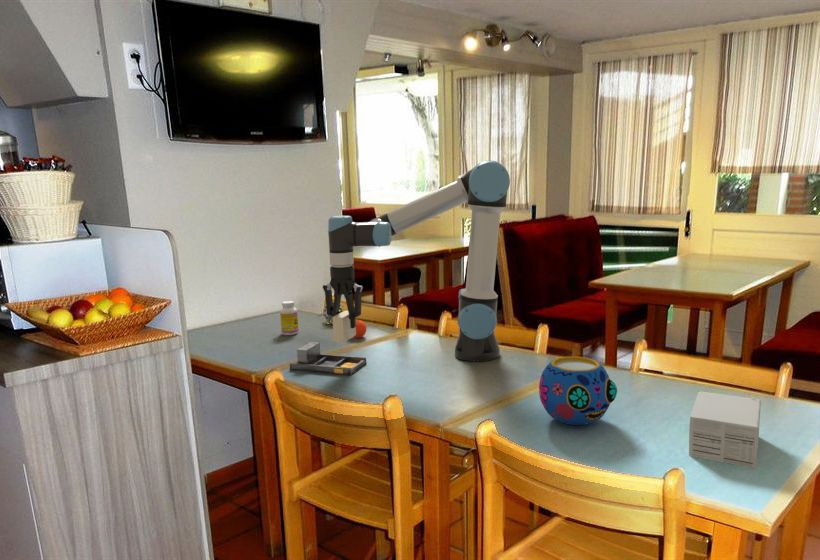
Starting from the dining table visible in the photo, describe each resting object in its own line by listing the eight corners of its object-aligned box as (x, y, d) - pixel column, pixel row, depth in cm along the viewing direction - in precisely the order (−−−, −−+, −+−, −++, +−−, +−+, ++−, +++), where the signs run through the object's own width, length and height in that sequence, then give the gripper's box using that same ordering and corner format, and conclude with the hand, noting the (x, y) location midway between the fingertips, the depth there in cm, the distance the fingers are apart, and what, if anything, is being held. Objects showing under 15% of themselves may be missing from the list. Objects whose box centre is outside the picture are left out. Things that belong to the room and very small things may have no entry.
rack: (366, 363, 206) (365, 344, 205) (350, 375, 195) (348, 355, 194) (308, 358, 214) (307, 340, 213) (289, 370, 203) (288, 350, 202)
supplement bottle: (296, 335, 245) (294, 303, 243) (280, 336, 245) (277, 304, 243) (300, 331, 251) (297, 300, 249) (283, 331, 252) (281, 300, 249)
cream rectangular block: (356, 334, 204) (355, 311, 203) (343, 342, 196) (342, 317, 194) (346, 334, 205) (345, 310, 204) (333, 341, 197) (332, 316, 196)
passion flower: (329, 336, 262) (315, 312, 264) (350, 327, 269) (336, 303, 271) (339, 326, 253) (324, 301, 255) (360, 316, 260) (345, 292, 262)
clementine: (345, 336, 241) (344, 318, 240) (362, 333, 244) (361, 316, 243) (352, 341, 234) (351, 322, 233) (369, 338, 237) (368, 320, 236)
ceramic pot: (568, 441, 144) (569, 379, 141) (525, 415, 160) (524, 359, 157) (627, 427, 151) (629, 367, 148) (580, 402, 167) (581, 348, 164)
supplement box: (696, 427, 150) (698, 390, 148) (759, 437, 143) (761, 398, 141) (687, 456, 135) (689, 415, 134) (756, 469, 129) (759, 426, 127)
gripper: (370, 264, 197) (373, 336, 201) (324, 262, 203) (327, 332, 207) (360, 268, 190) (363, 342, 194) (312, 266, 196) (316, 338, 200)
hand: (345, 337), depth 200 cm, fingers closed on cream rectangular block, 3 cm apart
